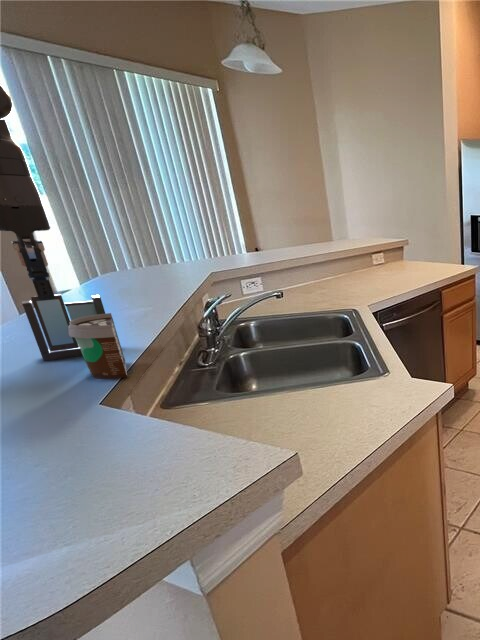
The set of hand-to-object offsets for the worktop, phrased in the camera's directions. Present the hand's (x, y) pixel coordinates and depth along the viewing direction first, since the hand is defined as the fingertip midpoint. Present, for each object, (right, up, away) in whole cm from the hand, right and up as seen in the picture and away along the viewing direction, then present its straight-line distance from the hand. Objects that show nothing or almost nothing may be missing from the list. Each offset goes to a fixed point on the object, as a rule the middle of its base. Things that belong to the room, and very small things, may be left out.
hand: (46, 297), depth 86 cm
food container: (+15, -15, -3) cm, 21 cm away
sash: (0, -10, +4) cm, 11 cm away
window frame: (+1, -11, +6) cm, 12 cm away
